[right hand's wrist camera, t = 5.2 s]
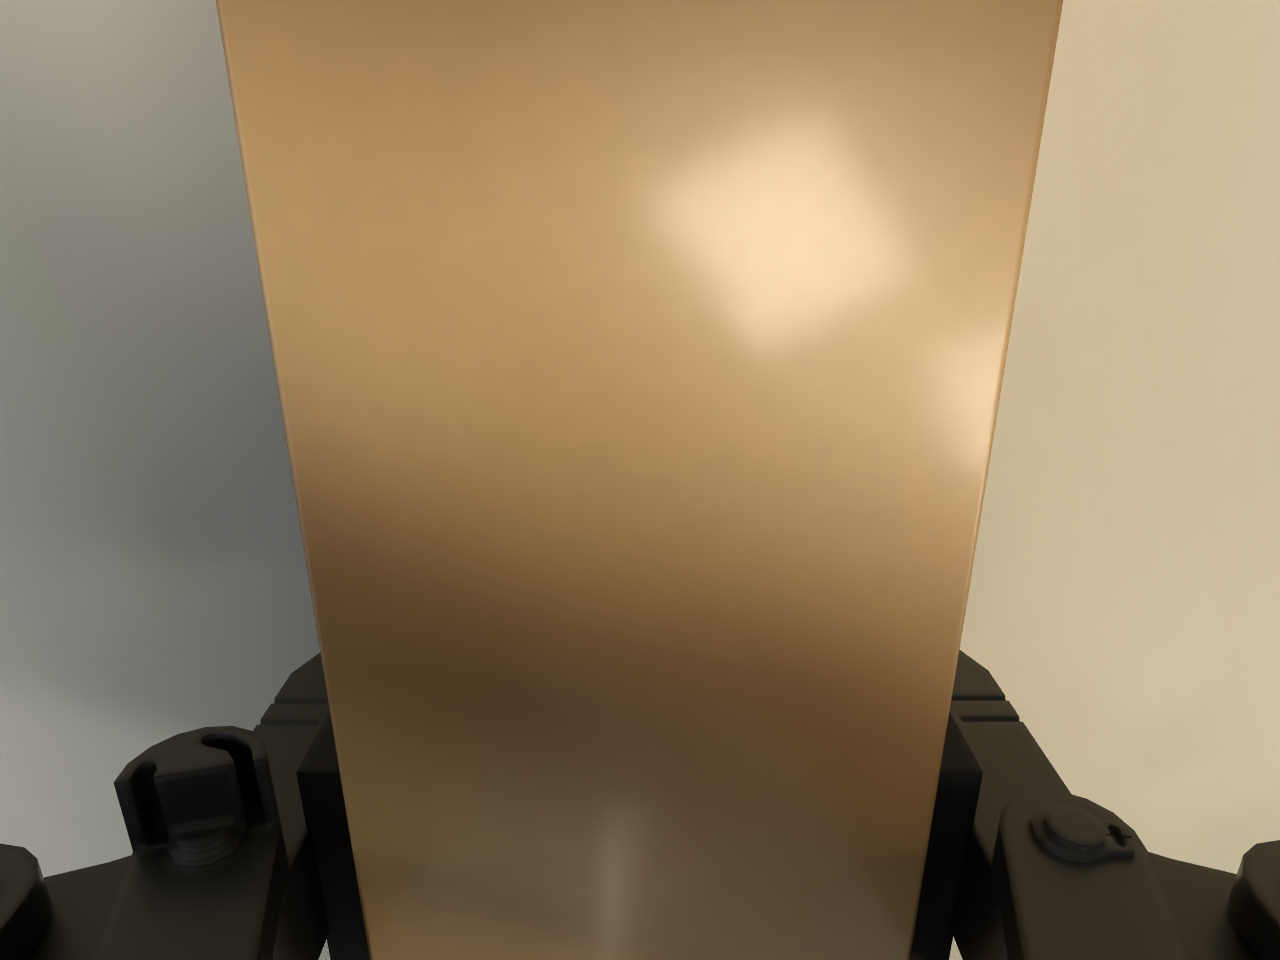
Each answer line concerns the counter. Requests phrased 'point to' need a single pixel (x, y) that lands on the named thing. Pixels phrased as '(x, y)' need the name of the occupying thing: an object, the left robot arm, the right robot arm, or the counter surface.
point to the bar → (639, 444)
